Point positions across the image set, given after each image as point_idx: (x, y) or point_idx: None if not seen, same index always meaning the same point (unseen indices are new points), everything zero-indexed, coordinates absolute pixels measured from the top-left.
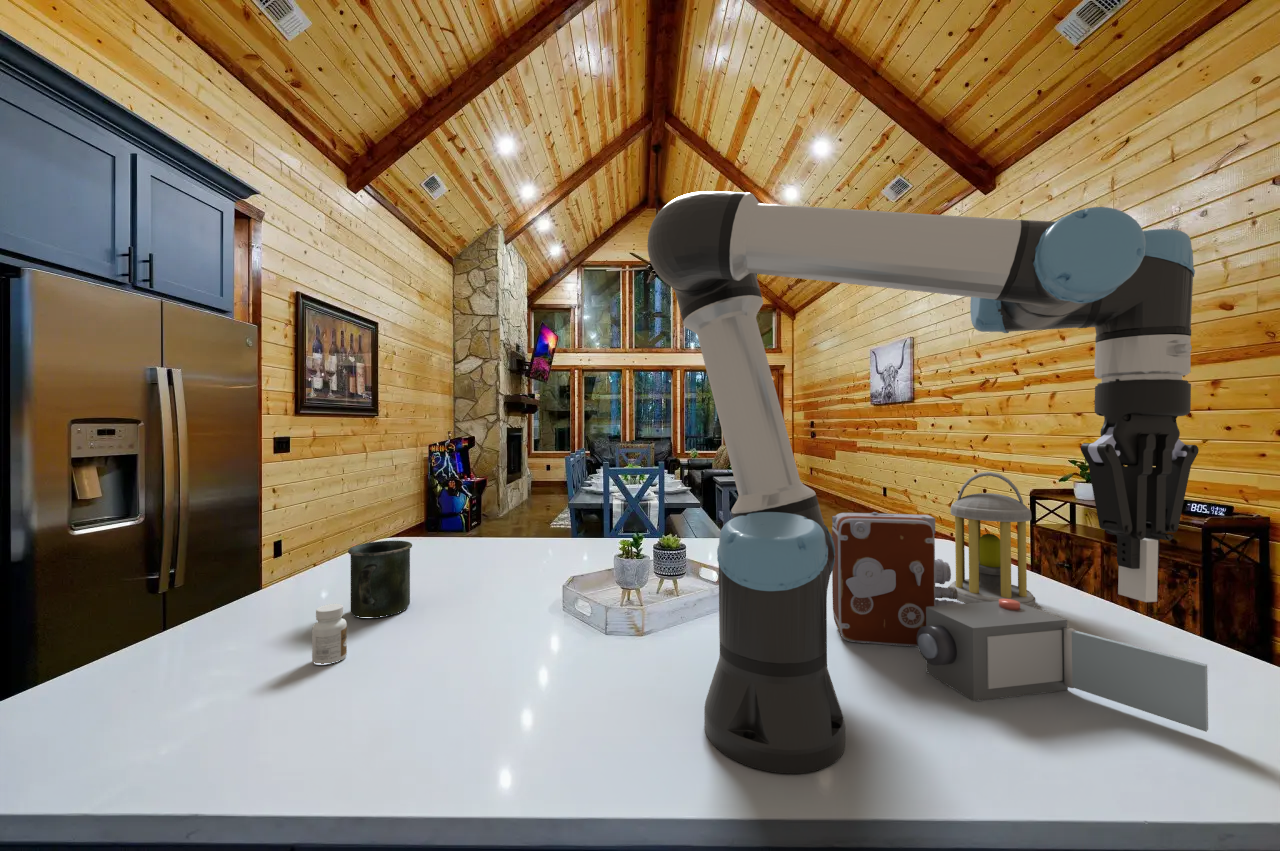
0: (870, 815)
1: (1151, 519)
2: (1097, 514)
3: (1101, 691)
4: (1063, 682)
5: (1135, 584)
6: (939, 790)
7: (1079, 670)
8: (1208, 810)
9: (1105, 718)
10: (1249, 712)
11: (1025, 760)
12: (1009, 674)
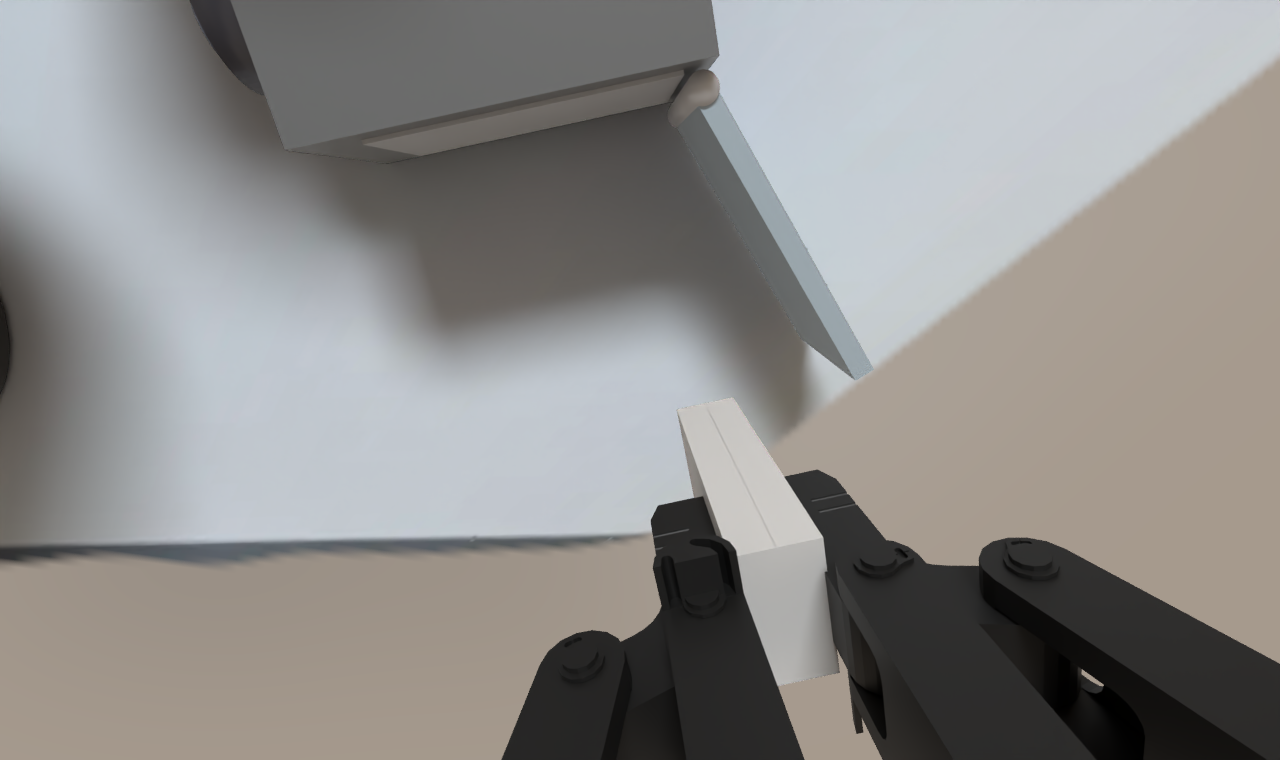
0: (41, 538)
1: (894, 758)
2: (510, 745)
3: (712, 184)
4: (673, 98)
5: (697, 495)
6: (175, 482)
7: (692, 138)
8: (593, 514)
9: (664, 244)
10: (1026, 216)
11: (377, 399)
12: (481, 138)
